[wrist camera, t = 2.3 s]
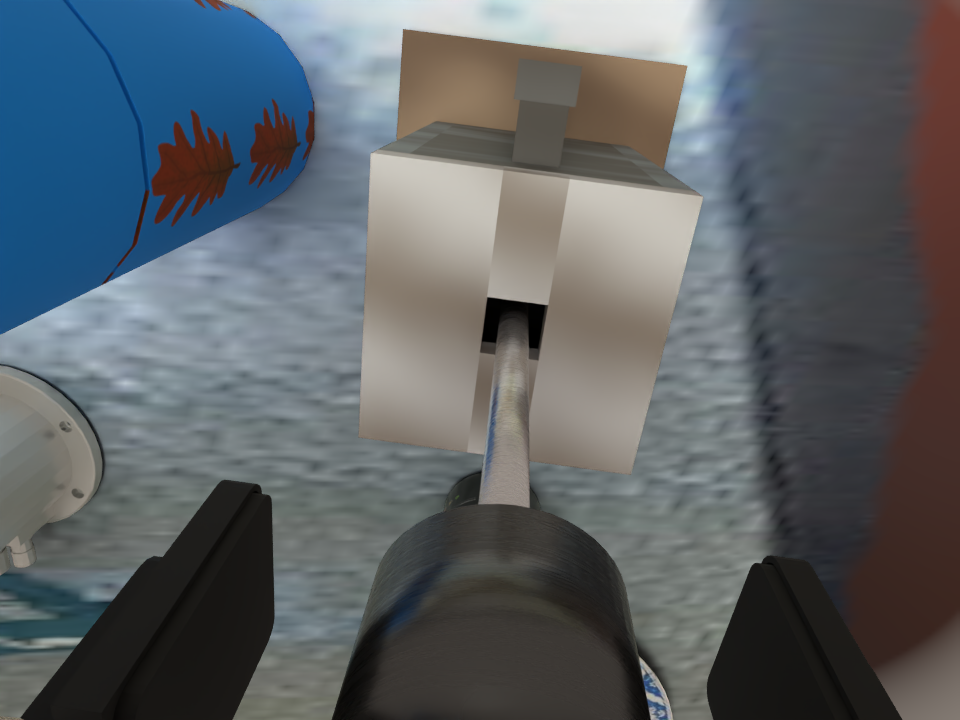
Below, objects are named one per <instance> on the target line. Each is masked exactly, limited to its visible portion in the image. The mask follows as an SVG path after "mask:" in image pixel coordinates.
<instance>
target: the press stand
mask: <svg viewBox="0 0 960 720" xmlns="http://www.w3.org/2000/svg"><path fill="white" fill-rule="evenodd" d="M686 69H687V66H684V65H676V64H669V63H661V62H653V61H645V60H638V59H630V58H622V57H614V56H607V55H599V54H591V53H583V52H576V51H568V50H560V49H552V48H545V47H537V46H529V45H521V44H514V43H506V42H498V41H490V40H482V39H475V38H467V37H459V36H451V35H444V34H436V33H428V32H420V31H413V30H405V29H403V41H402V58H401V74H400V91H399V108H398V125H397V140H396V141H394V142H392V143H390V144H388V145H386V146H384V147H382V148H380V149H378V150H376V151H374V152H372V153H371V160H370V184H369V207H368V230H367V253H366V276H365V299H364V323H363V346H362V369H361V392H360V415H359V438H366V439H373V440H381V441H388V442H395V443H403V444H410V445H417V446H424V447H432V448H439V449H446V450H453V451H461V452H468V453H475V454H483V455H484V450H485V441H486V432H487V423H488V414H489V405H490V397H491V388H492V379H493V370H494V361H495V352H496V344H497V335H498V326H499V317H500V308H501V300H502V299H506V300H514V301H521V302H528V338H529V461H533V462H541V463H548V464H555V465H562V466H570V467H577V468H584V469H592V470H599V471H606V472H613V473H621V474H628V475H631V472H632V468H633V464H634V460H635V457H636V453H637V449H638V445H639V441H640V438H641V434H642V430H643V426H644V422H645V418H646V415H647V411H648V407H649V403H650V399H651V395H652V392H653V388H654V384H655V380H656V376H657V373H658V369H659V365H660V361H661V357H662V353H663V350H664V346H665V342H666V338H667V334H668V331H669V327H670V323H671V319H672V315H673V311H674V308H675V304H676V300H677V296H678V292H679V288H680V285H681V281H682V277H683V273H684V269H685V266H686V262H687V258H688V254H689V250H690V246H691V243H692V239H693V235H694V231H695V227H696V224H697V220H698V216H699V212H700V208H701V204H702V201H703V196H702V195H700V194H699V193H697V192H696V191H694V190H693V189H691V188H690V187H688V186H687V185H685V184H684V183H683V182H681V181H680V180H678V179H677V178H675V177H674V176H672V175H671V174H669V173H668V172H666V171H665V170H663V169H664V165H665V160H666V156H667V152H668V147H669V143H670V139H671V134H672V130H673V126H674V121H675V117H676V113H677V108H678V104H679V100H680V95H681V91H682V87H683V82H684V78H685V74H686Z"/></svg>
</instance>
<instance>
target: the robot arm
mask: <svg viewBox="0 0 960 720" xmlns="http://www.w3.org/2000/svg"><path fill="white" fill-rule="evenodd" d="M101 477H102V458H101V451H100V448H99V445H98V442H97V440H96V437H95V435H94V433H93V431H92V429H91V428H90V426H89V424H88V423H87V421H86V419H85V418H84V417H83V416H82V414H81V413H80V412H79V411H78V410H77V408H76V407H75V406H74V405H73V404H72V403H71V402H70V401H69V400H68V399H66V398H65V397H64V396H63V395H62V394H61V393H60V392H58V391H57V390H55V389H54V388H52V387H51V386H50V385H48V384H47V383H45V382H44V381H42V380H40V379H38V378H36V377H34V376H32V375H30V374H28V373H25V372H22V371H20V370H17V369H14V368H11V367H7V366H1V365H0V575H2V574H3V573H5V572H6V571H8V569H9V568H10V560H9V556H8V552H7V548H6V546H11V554H12V558H13V562H14V566H16V567H18V568H23V567H27V566H30V565H31V564H33V563H34V562H35V561H36V559H37V557H36V553H35V548H34V544H33V543H32V540H31V537H32V536H33V535H34V533H35V532H36V531H38V530H39V529H40V528H41V527H42V526H43V525H44V524H45V523H52V522H57V521H60V520H62V519H65V518H68V517H70V516H71V515H73V514H74V513H76V512H77V511H79V510H80V509H81V508H82V507H83V506H84V505H85V504H86V503H87V502H88V501H89V500H90V499H91V498H92V496H93V495H94V494H95V492H96V491H97V489H98V486H99V483H100V480H101ZM273 624H274V575H273V535H272V501H271V497H270V496H269V495H265V494H262V491H261V487H260V485H258V484H252V483H245V482H238V481H231V480H223V481H221V482H220V483H219V484H218V485H217V486H216V488H215V489H214V490H213V492H212V493H211V494H210V495H209V497H208V498H207V499H206V501H205V502H204V503H203V505H202V506H201V507H200V509H199V510H198V511H197V513H196V514H195V515H194V517H193V518H192V519H191V521H190V522H189V523H188V524H187V526H186V527H185V528H184V530H183V531H182V532H181V534H180V535H179V536H178V538H177V539H176V540H175V542H174V543H173V544H172V546H171V547H170V548H169V550H168V551H167V552H166V553H165V555H164V556H163V557H157V556H153V557H151V558H149V559H147V560H146V561H145V562H144V563H143V564H142V565H141V566H140V567H139V568H138V569H137V571H136V572H135V573H134V575H133V576H132V577H131V578H130V580H129V581H128V582H127V583H126V585H125V586H124V587H123V588H122V590H121V591H120V592H119V594H118V595H117V596H116V597H115V599H114V600H113V601H112V602H111V604H110V605H109V606H108V607H107V609H106V610H105V611H104V613H103V614H102V615H101V616H100V618H99V619H98V620H97V621H96V623H95V624H94V625H93V626H92V628H91V629H90V630H89V631H88V633H87V634H86V635H85V637H84V638H83V639H82V640H81V642H80V643H79V644H78V645H77V647H76V648H75V649H74V650H73V652H72V653H71V654H70V656H69V657H68V658H67V659H66V661H65V662H64V663H63V664H62V666H61V667H60V668H59V669H58V671H57V672H56V673H55V674H54V676H53V677H52V678H51V680H50V681H49V682H48V683H47V685H46V686H45V687H44V688H43V690H42V691H41V692H40V693H39V695H38V696H37V697H36V699H35V700H34V701H33V702H32V704H31V705H30V706H29V707H28V709H27V710H26V711H25V712H24V714H23V715H22V716H21V718H14V717H1V716H0V720H233V717H234V715H235V713H236V711H237V709H238V706H239V704H240V702H241V700H242V698H243V696H244V693H245V691H246V689H247V687H248V685H249V682H250V680H251V678H252V676H253V674H254V672H255V669H256V667H257V665H258V663H259V661H260V658H261V656H262V654H263V652H264V650H265V647H266V645H267V643H268V641H269V638H270V636H271V632H272V629H273ZM707 697H708V702H709V706H710V710H711V713H712V716H713V720H902V718H901V717H900V715H899V713H898V711H897V710H896V708H895V706H894V705H893V703H892V701H891V700H890V698H889V696H888V694H887V693H886V691H885V689H884V688H883V686H882V684H881V682H880V681H879V679H878V678H877V676H876V674H875V672H874V671H873V669H872V668H871V667H870V665H869V664H868V662H867V660H866V659H865V657H864V655H863V654H862V652H861V650H860V649H859V647H858V645H857V643H856V642H855V640H854V638H853V636H852V635H851V633H850V631H849V630H848V628H847V626H846V624H845V623H844V621H843V619H842V618H841V616H840V614H839V612H838V611H837V609H836V607H835V606H834V604H833V602H832V600H831V599H830V597H829V595H828V593H827V592H826V590H825V588H824V587H823V585H822V583H821V581H820V580H819V578H818V576H817V575H816V573H815V571H814V569H813V568H812V566H811V565H810V564H809V563H808V562H807V561H805V560H800V559H792V558H785V557H778V556H767V557H765V558H764V559H763V561H762V563H754V564H753V565H752V567H751V569H750V571H749V573H748V576H747V579H746V581H745V584H744V586H743V589H742V592H741V594H740V597H739V599H738V602H737V604H736V607H735V610H734V612H733V615H732V617H731V620H730V623H729V625H728V628H727V630H726V633H725V636H724V638H723V641H722V643H721V646H720V649H719V651H718V654H717V656H716V659H715V661H714V664H713V667H712V669H711V672H710V674H709V677H708V682H707Z"/></svg>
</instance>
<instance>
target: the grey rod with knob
mask: <svg viewBox="0 0 960 720" xmlns="http://www.w3.org/2000/svg"><path fill="white" fill-rule="evenodd" d="M332 720H651V717H650V712H649V707H648V701H647V696H646V691H645V686H644V681H643V676H642V670H641V665H640V660H639V655H638V650H637V645H636V639H635V634H634V629H633V624H632V619H631V614H630V608H629V603H628V598H627V593H626V588H625V585H624V582H623V579H622V576H621V573H620V572H619V570H618V568H617V566H616V564H615V562H614V561H613V560H612V558H611V557H610V556H609V554H608V553H607V551H606V550H605V549H604V548H603V547H602V546H601V545H600V544H599V543H598V542H597V541H596V540H595V539H594V538H592V537H591V536H590V535H588V534H587V533H586V532H584V531H583V530H582V529H580V528H578V527H577V526H575V525H573V524H572V523H570V522H568V521H566V520H564V519H562V518H559V517H557V516H555V515H552V514H550V513H546V512H543V511H540V510H537V509H533V508H530V483H529V338H528V302H521V301H514V300H506V299H502V300H501V308H500V317H499V326H498V335H497V344H496V352H495V361H494V370H493V379H492V388H491V397H490V405H489V414H488V423H487V432H486V441H485V450H484V458H483V467H482V476H481V485H480V494H479V502H478V505H470V506H463V507H459V508H455V509H451V510H447V511H444V512H441V513H439V514H436V515H433V516H431V517H429V518H427V519H425V520H423V521H421V522H419V523H417V524H416V525H414V526H413V527H412V528H410V529H409V530H407V531H406V532H405V533H403V534H402V535H401V536H400V537H399V538H398V539H397V540H396V541H395V542H394V543H393V544H392V546H391V547H390V548H389V549H388V551H387V552H386V553H385V555H384V557H383V559H382V561H381V563H380V564H379V567H378V570H377V573H376V576H375V579H374V582H373V585H372V589H371V592H370V595H369V599H368V602H367V605H366V608H365V612H364V615H363V618H362V622H361V625H360V628H359V632H358V635H357V638H356V641H355V645H354V648H353V651H352V655H351V658H350V661H349V664H348V668H347V671H346V674H345V678H344V681H343V684H342V688H341V691H340V694H339V697H338V701H337V704H336V707H335V711H334V714H333V717H332Z"/></svg>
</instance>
